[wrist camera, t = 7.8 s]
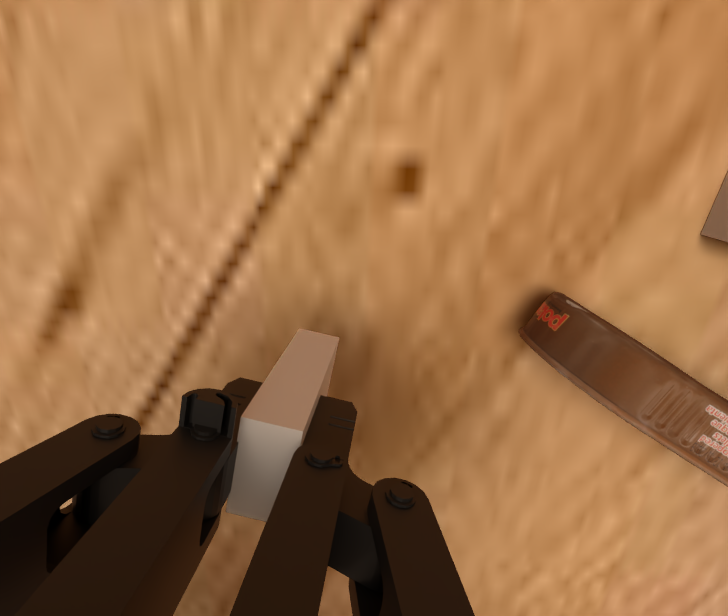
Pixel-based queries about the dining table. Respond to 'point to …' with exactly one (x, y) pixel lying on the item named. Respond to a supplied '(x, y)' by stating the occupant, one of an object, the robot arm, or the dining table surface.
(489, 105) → the dining table surface
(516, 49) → the dining table surface
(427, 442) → the dining table surface
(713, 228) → the socket block
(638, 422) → the tin
